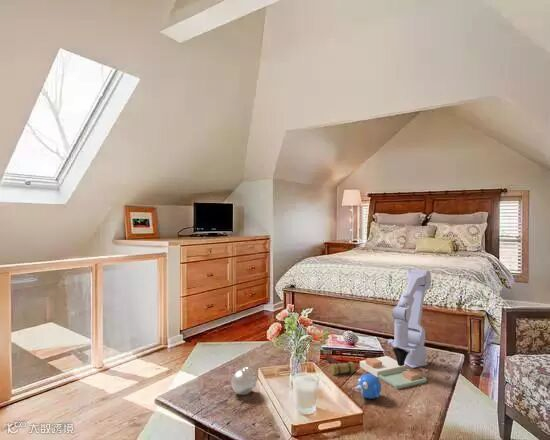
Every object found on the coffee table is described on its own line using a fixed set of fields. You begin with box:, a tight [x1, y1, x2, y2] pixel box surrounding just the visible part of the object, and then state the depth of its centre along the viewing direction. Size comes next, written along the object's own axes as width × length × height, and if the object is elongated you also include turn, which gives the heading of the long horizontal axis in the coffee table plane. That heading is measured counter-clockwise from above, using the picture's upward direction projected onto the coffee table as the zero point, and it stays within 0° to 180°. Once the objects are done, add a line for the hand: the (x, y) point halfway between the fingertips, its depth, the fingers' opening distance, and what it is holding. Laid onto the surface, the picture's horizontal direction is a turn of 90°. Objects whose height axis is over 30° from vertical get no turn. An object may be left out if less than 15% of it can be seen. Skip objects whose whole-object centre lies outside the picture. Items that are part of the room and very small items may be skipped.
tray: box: [377, 367, 428, 390], centre depth 149 cm, size 16×11×2 cm
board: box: [359, 355, 407, 378], centre depth 160 cm, size 16×12×2 cm
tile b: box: [365, 357, 382, 368], centre depth 158 cm, size 5×5×2 cm
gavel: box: [324, 354, 356, 376], centre depth 163 cm, size 21×5×10 cm
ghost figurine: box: [230, 366, 257, 396], centre depth 136 cm, size 9×10×10 cm
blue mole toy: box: [351, 373, 382, 400], centre depth 134 cm, size 12×12×8 cm
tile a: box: [402, 369, 421, 381], centre depth 150 cm, size 5×5×2 cm
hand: (400, 365), depth 155 cm, fingers closed
